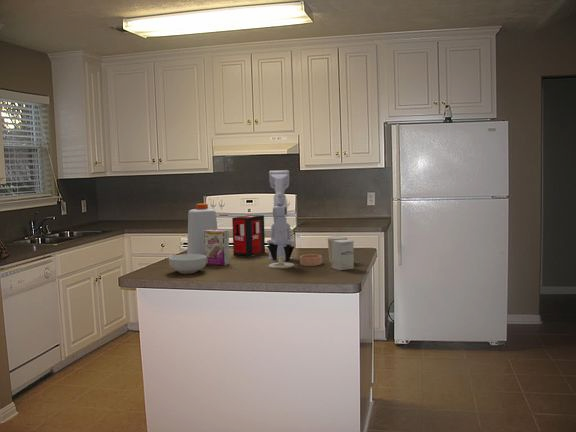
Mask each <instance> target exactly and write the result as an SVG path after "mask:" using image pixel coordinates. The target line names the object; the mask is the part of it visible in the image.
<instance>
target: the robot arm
mask: <svg viewBox="0 0 576 432" xmlns="http://www.w3.org/2000/svg"><path fill="white" fill-rule="evenodd" d="M268 175H269V179H268V180H269V186H270V188H272V189H273V190H274V193H275V194H274V195H273V207H272V217H273V224H271V226H270V239H267V240H266V243H267V249H268V258H267V259H268V260H272V261H278V257H279V256H284V261H285V262H287V263H289V262H290V261H291V259H292V253H293V251H294V250H295V245H296V243H295V241H292V240H291V239H292V235H291V234H292V233H291V231H292V230H291V225H290V224H289V223H288V222H287V217H288V206H287V195H286V194H285V191H286V189H287V188H289V186H290V170H288V169H285V170H270V171H269V173H268Z"/></svg>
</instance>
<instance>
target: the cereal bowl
mask: <svg viewBox="0 0 576 432" xmlns="http://www.w3.org/2000/svg"><path fill="white" fill-rule="evenodd" d="M206 260H207V257H206V256H205V255H199V254H187V253H185V254H176V255H175V254H174V255H171V256H169V257H168V264H169V266H170V268H171V269H172V270H174V271H176V272H178V273H179V274H184V275H186V274H195V273H197V272H198V271H201V270H202V269H204V268H205V267H206V265H207V264H206Z"/></svg>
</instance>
